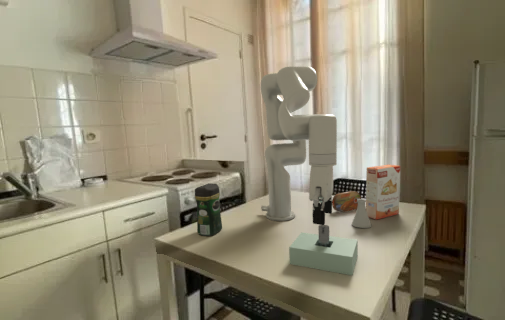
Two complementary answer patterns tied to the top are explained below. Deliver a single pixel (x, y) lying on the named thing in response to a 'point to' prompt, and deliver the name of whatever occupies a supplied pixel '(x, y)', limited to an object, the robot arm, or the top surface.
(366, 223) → the flask
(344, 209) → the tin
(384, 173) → the cracker box
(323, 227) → the peg
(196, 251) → the top surface
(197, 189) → the coffee jar
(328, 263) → the green block with hole
